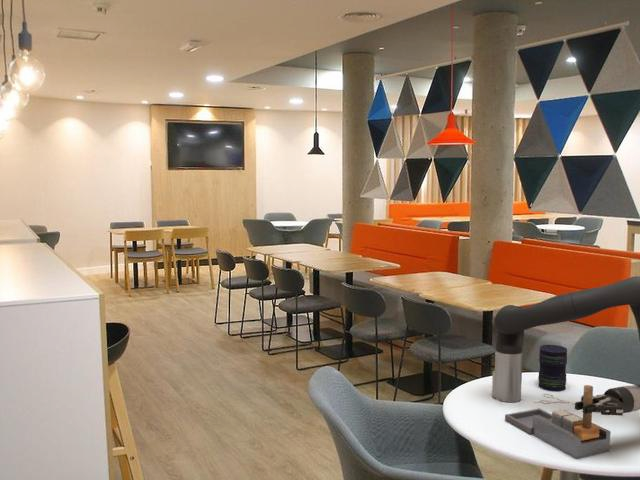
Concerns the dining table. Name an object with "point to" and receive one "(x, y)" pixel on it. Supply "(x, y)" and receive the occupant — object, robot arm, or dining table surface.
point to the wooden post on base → (587, 418)
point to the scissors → (553, 402)
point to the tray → (526, 419)
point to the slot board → (570, 438)
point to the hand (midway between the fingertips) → (579, 408)
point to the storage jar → (552, 368)
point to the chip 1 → (559, 417)
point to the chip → (571, 422)
